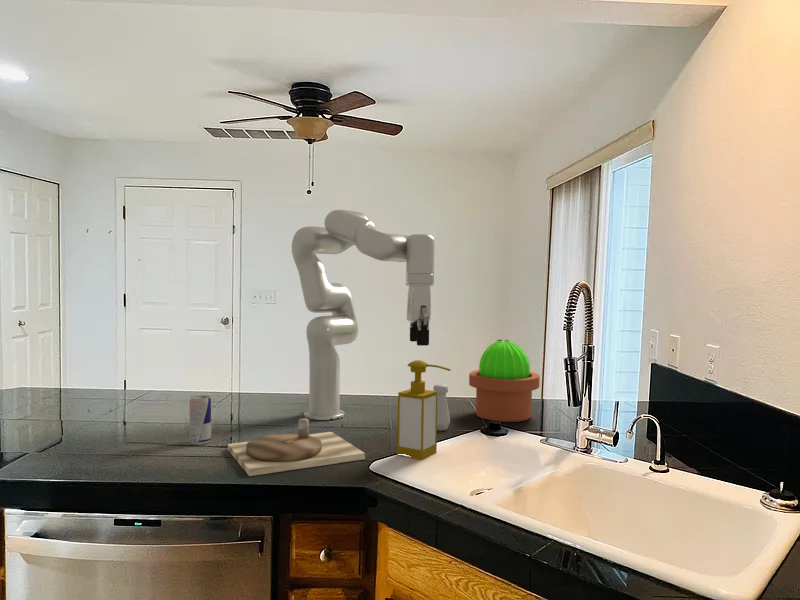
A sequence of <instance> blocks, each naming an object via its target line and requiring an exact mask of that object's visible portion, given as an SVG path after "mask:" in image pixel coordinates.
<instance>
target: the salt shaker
mask: <svg viewBox="0 0 800 600" xmlns="http://www.w3.org/2000/svg"><path fill="white" fill-rule="evenodd" d="M432 391H437V393H436V394H437V431H442V430H443V431H446V430H448V427H449V425H450V423H451V417H450V411H449V406H448V400H447V393H448V392H449V386H448V385H447V384H444V383H437V384H434V385H433V390H432Z"/></svg>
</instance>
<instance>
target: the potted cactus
mask: <svg viewBox="0 0 800 600" xmlns="http://www.w3.org/2000/svg"><path fill="white" fill-rule="evenodd" d="M530 358H531V357H528V355H527V353H526V352H525V350H524V349H522V347H521V346H520V344H517V343H515V342H513V341H511V340H510V339H509V340H508V339H505V340H503V339H497V340H495V342H494V343H490V345H489V346H488V347H486V348H485V351H483V353H482V355H481V354H480V360H479V363H477V364H479V365H478V369H475V370H472V371H470V372H469V375H468V376H469V377H468V378H469V379H468V381H469V382H468V385H469V386H470V387H472V388H475V390H476V391H475V392H476V395H475V413H476V414H475V415H476V417H478V418H481V419H483V420H487V421H493V422H499V423H500V422H502V423H503V422H504V423H517V422H524V421H527V420H529V419H530V418H531V417H532V407H533V405H532V403H533V401H532V400H533V398H532V397H533V396H532V395H533V393H532V392H533V391H534V390H535V391H536V390H538V389H539V388H540V385H541V384H540V383H541V382H540V380H541V379H540V378H541V377H540V374H538V373H536V372H533V371H530V370H531V366H530V365H531V364H530V363H531V360H530V361H529V359H530Z"/></svg>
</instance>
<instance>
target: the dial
mask: <svg viewBox="0 0 800 600" xmlns="http://www.w3.org/2000/svg"><path fill="white" fill-rule="evenodd" d="M297 422H298V423H297V424H298V427H297V428H298V431H297V433H280V434H269V435H264V436H260V437H257V438H254V439H251V440H250V441H247V442H248V443H247V445H246V453H247V455H249V456H250V457H252V458H255V459H260V460H266V461H291V460H299V459H304V458H308V457H311V456H314V455H316V454H318V453H319V452H320V451H321V449H322V442H321V440H320V439H318V438H316V437H313V436H310V435H309V434H310V432H309V431H310V419H308V418H306V417H304V418H303V417H302V418H299V419H298V421H297Z"/></svg>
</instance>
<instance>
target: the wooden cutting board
mask: <svg viewBox="0 0 800 600" xmlns="http://www.w3.org/2000/svg"><path fill="white" fill-rule="evenodd" d="M309 435H310V436H313V437H316V438H318V439H320V440H321V442H322V449H321V451H320V452H319V453H318V454H316V455H314V456H311V457H308V458H304V459H299V460H291V461H266V460H260V459H255V458H252V457H250V456H249V455H247V453H246V445H247V443H248V442H249V441H243V442H241V441H240V442H234V443H228V444H227V451H228V452H229V453H230V454H231V456H232V457H233V459H235V460H236V461H237V463H238V464H239V465H240V466H241V468H242V469H243V470H244V472H245V473H246V474H247V475H248V476H249V477H252V476H261V475H266V474H267V475H268V474H272V473H273V474H274V473H279V472H286V471H287V472H288V471H294V470H295V471H296V470H301V469H307V468H314V467H315V468H316V467H321V466H329V465H335V464H341V463H349V462H356V461H362V460H366V453H365V452H363V450H361V449H359V448H358V447H356V446H354V445H353V444H352V443H350V442H348V441H347V440H345V439H344V438H343V437H340V436H339V435H337V434H336V433H335V432H332V431H327V432H317V433H309Z"/></svg>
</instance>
